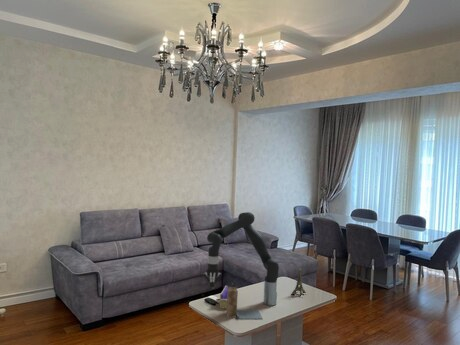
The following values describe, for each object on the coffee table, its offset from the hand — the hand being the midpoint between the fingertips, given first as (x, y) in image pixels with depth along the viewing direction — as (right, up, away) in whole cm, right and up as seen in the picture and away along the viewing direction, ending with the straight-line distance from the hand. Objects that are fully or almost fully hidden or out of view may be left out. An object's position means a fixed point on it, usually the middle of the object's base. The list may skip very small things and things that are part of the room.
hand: (211, 287), depth 237 cm
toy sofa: (+11, -20, +22) cm, 31 cm away
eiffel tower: (+69, -22, +47) cm, 87 cm away
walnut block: (+13, -20, +2) cm, 24 cm away
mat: (+25, -20, +3) cm, 32 cm away
